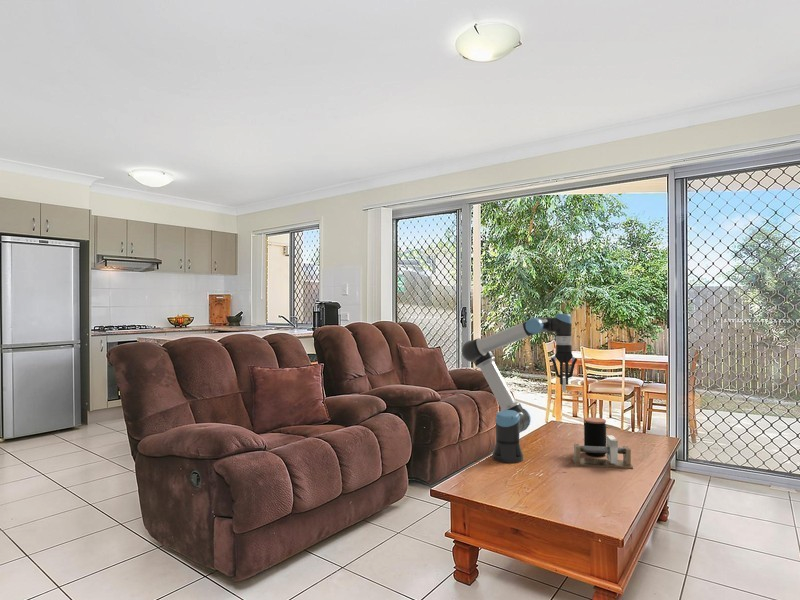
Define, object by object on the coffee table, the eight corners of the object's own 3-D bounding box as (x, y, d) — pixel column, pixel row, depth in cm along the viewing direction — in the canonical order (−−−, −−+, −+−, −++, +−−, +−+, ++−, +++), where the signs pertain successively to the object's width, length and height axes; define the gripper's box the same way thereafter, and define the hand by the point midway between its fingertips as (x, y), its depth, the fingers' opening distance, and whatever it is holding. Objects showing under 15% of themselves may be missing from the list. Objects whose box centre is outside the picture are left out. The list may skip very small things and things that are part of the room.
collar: (611, 463, 243) (610, 440, 243) (606, 457, 253) (606, 435, 253) (617, 463, 242) (617, 440, 242) (613, 457, 252) (612, 435, 252)
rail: (575, 465, 246) (575, 447, 246) (572, 459, 256) (572, 442, 256) (633, 468, 241) (632, 450, 241) (627, 462, 251) (627, 444, 251)
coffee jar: (602, 451, 270) (602, 417, 270) (609, 457, 259) (608, 422, 259) (582, 451, 271) (581, 417, 271) (587, 456, 260) (587, 421, 260)
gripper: (551, 344, 254) (551, 392, 253) (578, 345, 251) (578, 392, 251) (549, 343, 261) (549, 389, 261) (576, 343, 259) (576, 390, 258)
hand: (564, 391), depth 256 cm, fingers closed
